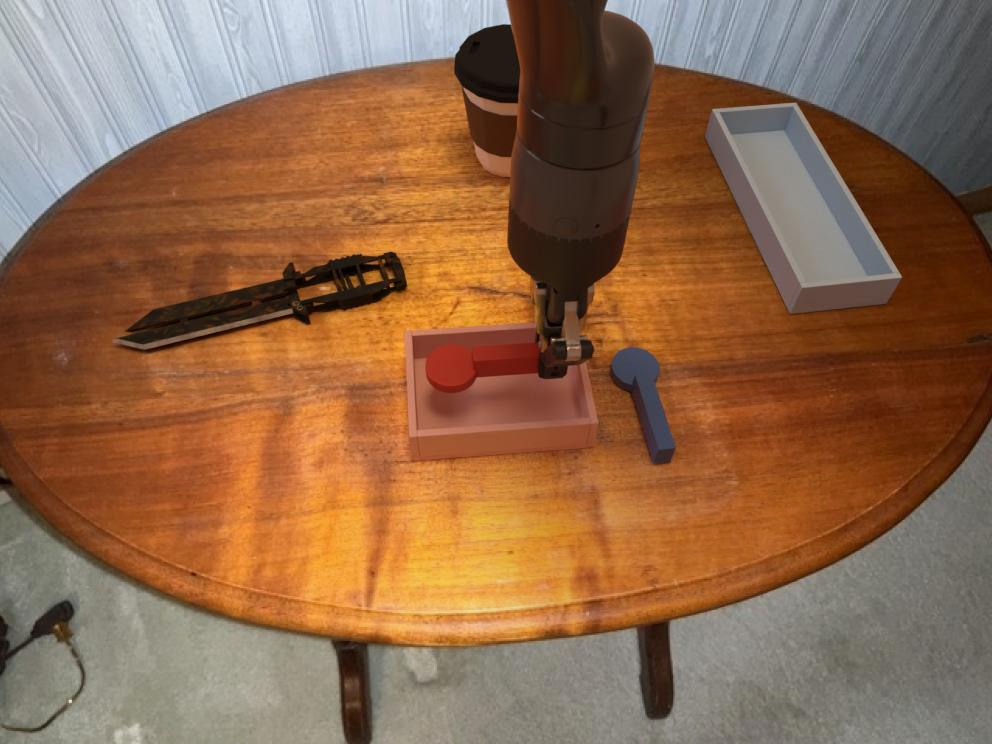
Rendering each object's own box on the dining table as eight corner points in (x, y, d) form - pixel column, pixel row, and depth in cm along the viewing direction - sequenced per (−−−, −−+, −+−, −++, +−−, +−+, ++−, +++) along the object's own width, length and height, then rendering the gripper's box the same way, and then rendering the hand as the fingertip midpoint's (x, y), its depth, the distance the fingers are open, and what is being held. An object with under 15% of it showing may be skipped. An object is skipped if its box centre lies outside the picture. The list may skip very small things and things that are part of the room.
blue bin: (886, 303, 74) (902, 277, 71) (789, 314, 73) (802, 287, 70) (786, 130, 89) (796, 102, 86) (704, 136, 88) (712, 108, 85)
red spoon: (560, 344, 65) (563, 326, 63) (568, 385, 63) (571, 368, 61) (424, 353, 64) (423, 335, 62) (427, 395, 62) (425, 378, 60)
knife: (115, 360, 68) (109, 349, 67) (115, 303, 72) (110, 292, 71) (412, 305, 73) (411, 295, 72) (398, 254, 76) (397, 243, 75)
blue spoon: (686, 460, 64) (693, 445, 62) (637, 466, 63) (641, 452, 62) (650, 352, 70) (655, 335, 68) (605, 357, 70) (608, 340, 68)
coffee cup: (444, 184, 82) (440, 78, 73) (469, 118, 89) (468, 13, 79) (551, 201, 81) (561, 96, 71) (568, 134, 88) (580, 29, 78)
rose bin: (573, 345, 70) (577, 319, 68) (593, 447, 64) (598, 423, 61) (407, 356, 69) (404, 330, 66) (411, 461, 63) (409, 437, 60)
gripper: (656, 270, 46) (613, 435, 60) (611, 119, 54) (583, 295, 68) (523, 278, 45) (511, 442, 59) (498, 124, 53) (493, 301, 67)
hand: (549, 363), depth 64 cm, fingers closed on red spoon, 1 cm apart
